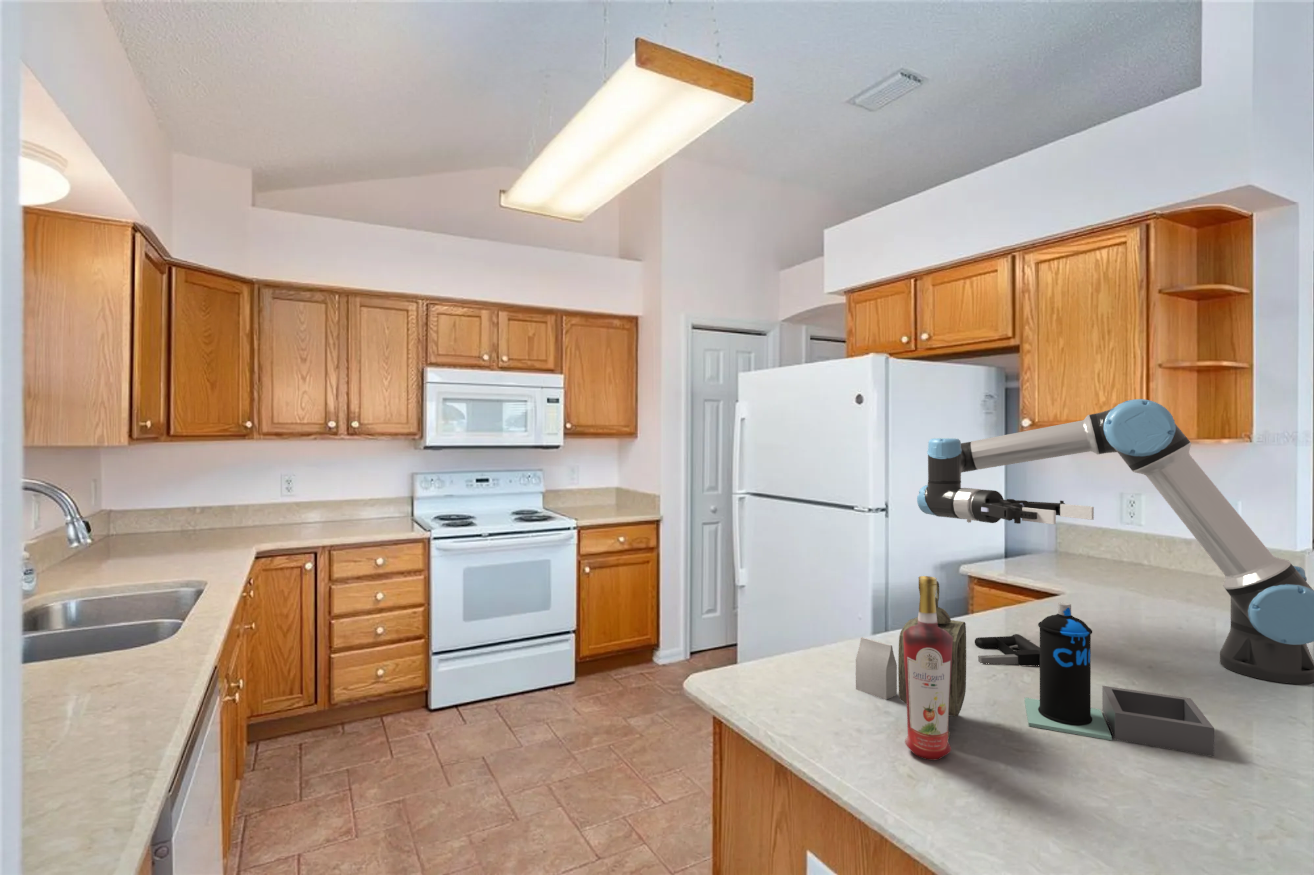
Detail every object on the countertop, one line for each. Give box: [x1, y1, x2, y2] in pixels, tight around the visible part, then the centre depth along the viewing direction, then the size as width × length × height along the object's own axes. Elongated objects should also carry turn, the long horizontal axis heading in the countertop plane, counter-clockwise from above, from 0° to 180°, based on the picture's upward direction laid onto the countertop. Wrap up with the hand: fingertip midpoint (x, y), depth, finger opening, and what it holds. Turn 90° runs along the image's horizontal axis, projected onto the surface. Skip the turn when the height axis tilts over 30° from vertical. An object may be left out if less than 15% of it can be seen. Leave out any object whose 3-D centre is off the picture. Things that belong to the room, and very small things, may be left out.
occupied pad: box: [1024, 697, 1113, 741], centre depth 116 cm, size 12×12×1 cm
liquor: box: [903, 575, 953, 761], centre depth 104 cm, size 7×7×28 cm
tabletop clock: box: [897, 580, 967, 739], centre depth 115 cm, size 14×9×25 cm, turn 148°
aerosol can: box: [1037, 601, 1093, 725], centre depth 116 cm, size 8×8×20 cm
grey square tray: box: [1101, 685, 1215, 758], centre depth 111 cm, size 13×13×4 cm
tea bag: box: [855, 636, 898, 701], centre depth 129 cm, size 4×7×10 cm, turn 39°
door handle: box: [974, 633, 1040, 667], centre depth 148 cm, size 3×20×16 cm
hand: (1074, 515), depth 134 cm, fingers open, 13 cm apart
